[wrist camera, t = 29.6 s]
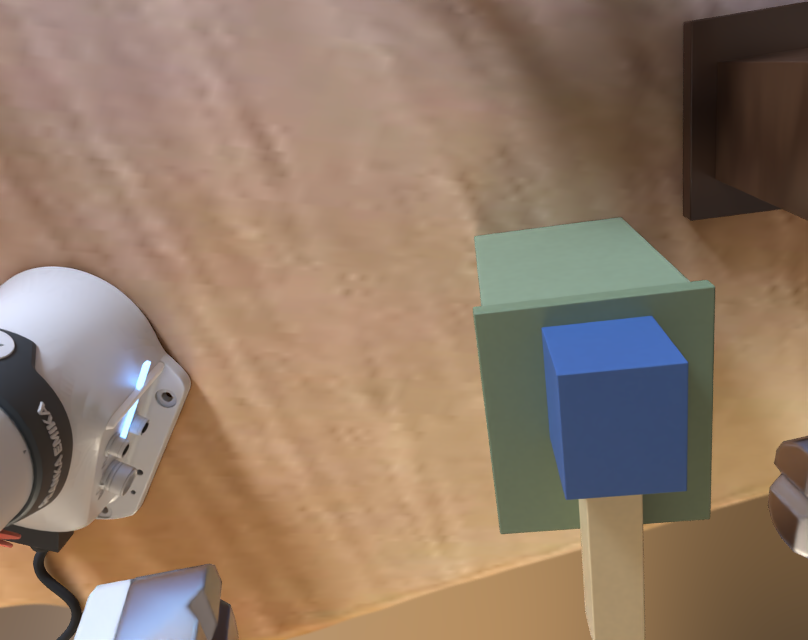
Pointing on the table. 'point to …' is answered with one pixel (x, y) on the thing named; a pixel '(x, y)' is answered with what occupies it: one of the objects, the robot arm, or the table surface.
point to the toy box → (572, 304)
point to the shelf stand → (746, 113)
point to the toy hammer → (616, 450)
